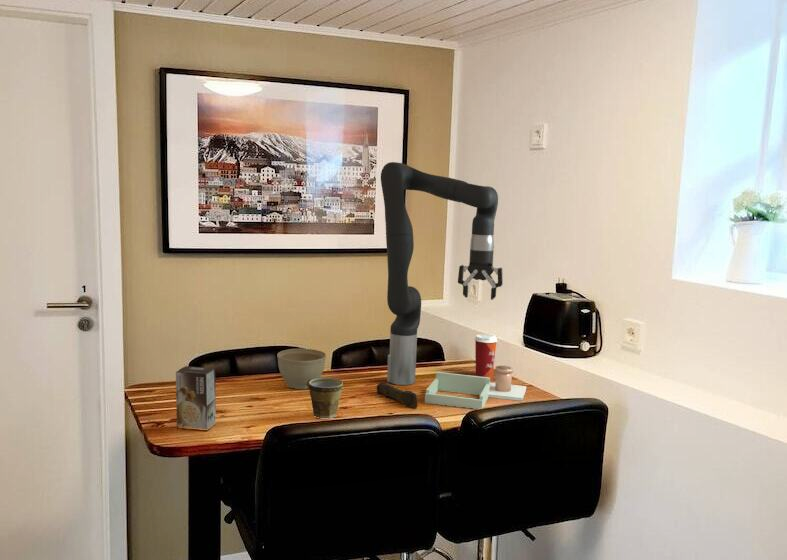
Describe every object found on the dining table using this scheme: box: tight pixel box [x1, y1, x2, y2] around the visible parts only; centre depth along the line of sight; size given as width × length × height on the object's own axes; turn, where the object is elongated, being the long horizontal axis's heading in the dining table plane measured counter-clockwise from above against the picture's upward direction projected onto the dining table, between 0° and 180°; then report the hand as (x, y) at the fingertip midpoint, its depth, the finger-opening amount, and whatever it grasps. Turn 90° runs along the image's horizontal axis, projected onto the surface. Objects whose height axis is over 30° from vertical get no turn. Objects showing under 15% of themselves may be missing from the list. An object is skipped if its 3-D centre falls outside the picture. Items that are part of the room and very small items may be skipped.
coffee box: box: [175, 365, 217, 429], centre depth 187 cm, size 9×6×16 cm
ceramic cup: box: [307, 377, 344, 419], centre depth 201 cm, size 13×10×10 cm
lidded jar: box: [494, 365, 514, 392], centre depth 229 cm, size 6×6×8 cm
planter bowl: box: [276, 348, 327, 390], centre depth 228 cm, size 16×16×11 cm
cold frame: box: [424, 371, 491, 410], centre depth 220 cm, size 18×16×6 cm
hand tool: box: [376, 381, 418, 409], centre depth 217 cm, size 19×4×5 cm, turn 34°
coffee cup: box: [474, 333, 498, 380], centre depth 247 cm, size 8×8×15 cm
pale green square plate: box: [478, 381, 527, 402], centre depth 229 cm, size 14×14×1 cm
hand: (479, 298), depth 223 cm, fingers open, 8 cm apart
